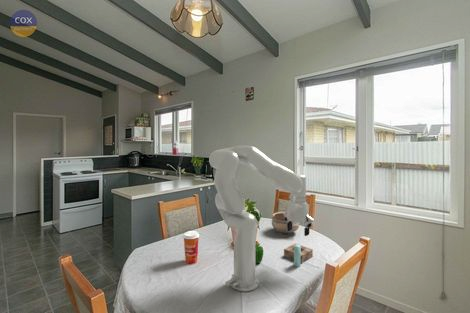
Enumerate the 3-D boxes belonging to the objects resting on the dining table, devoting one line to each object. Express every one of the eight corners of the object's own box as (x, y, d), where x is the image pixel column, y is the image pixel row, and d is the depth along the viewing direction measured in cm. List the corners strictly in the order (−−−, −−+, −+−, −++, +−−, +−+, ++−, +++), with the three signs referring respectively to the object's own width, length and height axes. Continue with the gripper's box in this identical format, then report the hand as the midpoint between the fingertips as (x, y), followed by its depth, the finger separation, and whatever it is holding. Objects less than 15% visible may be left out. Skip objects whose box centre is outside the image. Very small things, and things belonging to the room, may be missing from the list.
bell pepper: (243, 262, 125) (243, 243, 124) (253, 256, 131) (253, 238, 131) (257, 267, 119) (257, 247, 119) (266, 261, 126) (266, 242, 125)
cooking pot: (263, 229, 175) (264, 212, 174) (284, 225, 183) (285, 209, 182) (285, 241, 152) (285, 222, 152) (308, 236, 161) (308, 218, 160)
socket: (301, 263, 124) (301, 255, 124) (283, 256, 132) (284, 249, 132) (312, 256, 131) (312, 249, 131) (295, 250, 139) (295, 243, 139)
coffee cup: (180, 263, 123) (180, 235, 122) (188, 256, 131) (188, 229, 130) (194, 266, 120) (194, 237, 120) (202, 259, 128) (202, 231, 127)
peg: (298, 267, 119) (298, 247, 119) (292, 265, 122) (292, 245, 121) (301, 265, 122) (301, 246, 121) (296, 263, 124) (296, 244, 124)
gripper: (279, 197, 124) (279, 230, 125) (310, 203, 111) (309, 239, 112) (287, 195, 129) (287, 226, 130) (317, 200, 117) (317, 235, 117)
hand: (298, 232), depth 121 cm, fingers open, 9 cm apart
